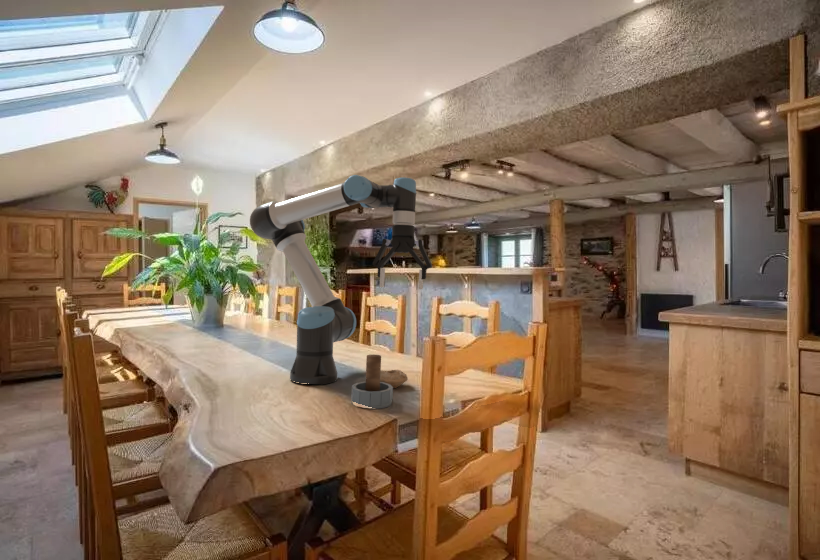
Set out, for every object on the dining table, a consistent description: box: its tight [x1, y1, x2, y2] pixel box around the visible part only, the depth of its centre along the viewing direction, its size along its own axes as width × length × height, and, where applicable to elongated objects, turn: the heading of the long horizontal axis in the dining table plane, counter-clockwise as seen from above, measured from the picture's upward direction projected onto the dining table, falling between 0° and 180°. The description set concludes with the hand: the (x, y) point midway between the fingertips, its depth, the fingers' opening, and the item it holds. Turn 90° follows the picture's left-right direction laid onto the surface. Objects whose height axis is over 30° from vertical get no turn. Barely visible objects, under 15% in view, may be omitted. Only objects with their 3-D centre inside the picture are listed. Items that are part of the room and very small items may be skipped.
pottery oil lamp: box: [380, 369, 408, 389], centre depth 138 cm, size 9×12×7 cm
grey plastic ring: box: [350, 381, 394, 410], centre depth 119 cm, size 11×11×4 cm
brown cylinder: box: [365, 354, 382, 391], centre depth 119 cm, size 4×4×12 cm
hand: (401, 288), depth 146 cm, fingers open, 13 cm apart
